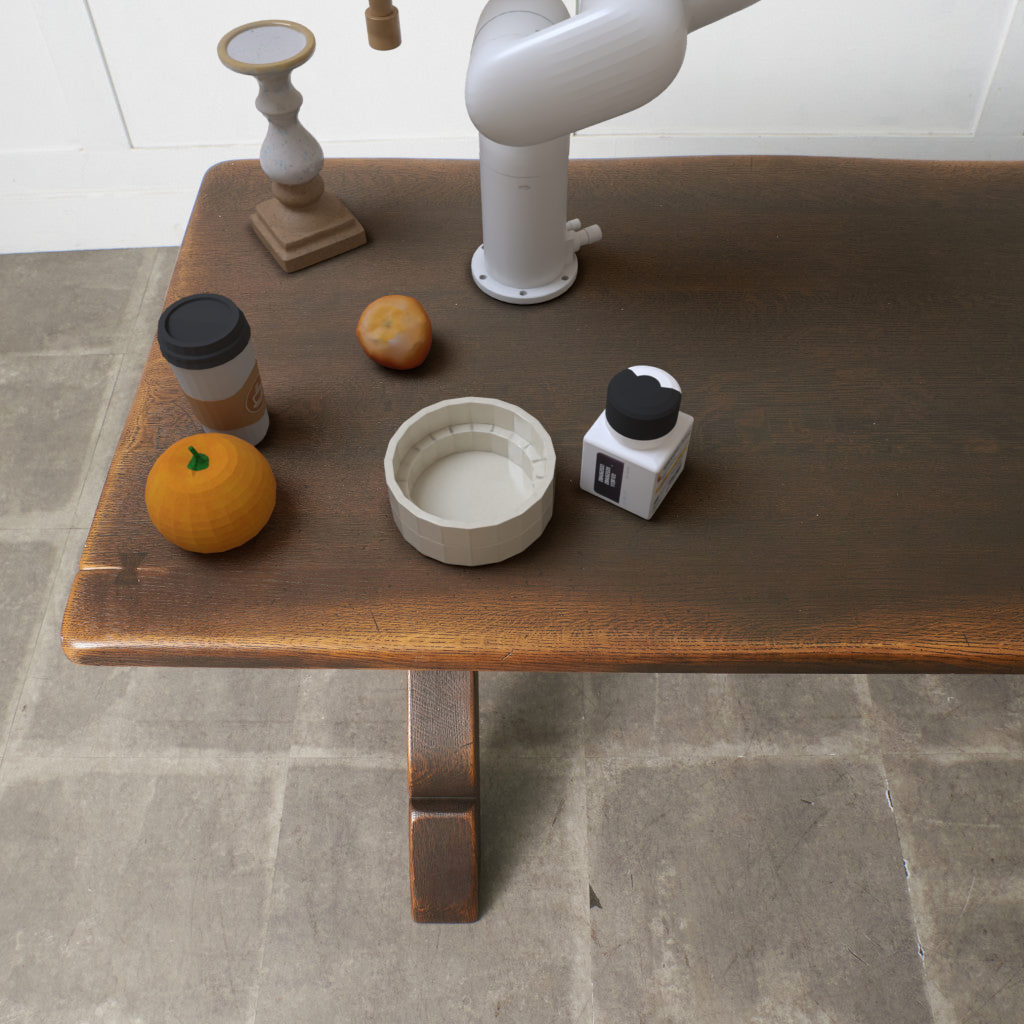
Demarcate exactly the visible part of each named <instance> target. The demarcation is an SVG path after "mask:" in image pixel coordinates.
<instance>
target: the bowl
mask: <svg viewBox="0 0 1024 1024" xmlns="http://www.w3.org/2000/svg"><path fill="white" fill-rule="evenodd" d="M383 466H384V475H385V483H386V488H387V493H388V498H389V503H390V508H391V514H392V518H393V521H394V524H395V525H396V527H397V528H398V530H399V533H400V534H401V535H402V538H403V539H404V541H406V542H408V543H409V544H410V545H411V546H412V547H413V548H415V550H417V551H418V552H420V553H421V554H422V555H423V556H427V557H429V558H432V559H434V560H437V561H439V562H442V563H444V564H447V565H455V566H457V565H458V566H466V567H476V566H483V565H489V564H494V563H500V562H503V561H506V560H507V559H509V558H512V557H513V556H516V555H518V554H520V553H523V552H524V551H525V550H526V549H527V548H528V547H530V546H531V545H532V544H533V543H534V542H535V541H536V540H538V539H539V538H540V537H541V536H542V534H543V533H544V531H545V529H546V527H547V525H548V523H549V522H550V520H551V519H552V516H553V511H554V503H555V497H556V495H555V494H556V473H557V471H556V470H557V455H556V451H555V447H554V444H553V440H552V437H551V436H550V434H549V433H548V431H547V430H546V429H545V427H544V426H543V425H542V424H541V422H540V421H539V420H538V419H537V418H536V417H534V416H533V415H532V414H530V413H528V412H527V411H526V410H524V409H523V408H522V407H520V406H518V405H515V404H512V403H510V402H506V401H503V400H501V399H498V398H492V397H481V396H480V397H479V396H465V397H456V398H449V399H444V400H441V401H439V402H435V403H433V404H431V405H428V406H426V407H423V408H421V409H420V410H419V411H418V412H416V413H414V414H413V415H411V416H410V417H409V418H408V419H406V420H405V421H403V423H401V425H400V426H399V427H398V429H397V430H396V432H395V433H394V435H392V437H391V438H390V440H389V443H388V445H387V449H386V452H385V456H384V459H383Z"/></svg>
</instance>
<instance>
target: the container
mask: <svg viewBox="0 0 1024 1024" xmlns="http://www.w3.org/2000/svg"><path fill="white" fill-rule="evenodd" d="M682 396H683V393H682V389H681V386H680V384H679V382H678V381H677V379H675V378H674V377H673V376H672V375H671V374H670V373H668V372H667V371H665V370H664V369H661V368H659V367H655V366H651V365H633V366H631V367H627V368H625V369H622V370H621V371H619V372H617V373H616V374H615V375H613V377H611V379H610V381H609V383H608V385H607V389H606V400H605V408H604V410H603V411H602V412H601V414H600V415H599V416H598V417H597V419H596V420H595V421H594V423H592V425H591V427H590V428H589V429H588V430H587V432H586V433H585V434H584V436H583V440H582V453H581V467H580V477H579V478H580V479H579V487H580V489H581V490H583V491H585V492H587V493H588V494H592V495H593V496H596V497H598V498H600V499H602V500H604V501H606V502H608V503H610V504H612V505H615V506H617V507H619V508H620V509H621V508H622V509H623V510H626V512H627V511H628V512H629V513H631V514H634V515H636V516H637V517H640V518H642V519H644V520H650V519H652V517H653V515H654V514H655V513H656V511H657V509H658V508H659V506H660V505H661V503H662V502H663V501H664V499H665V498H666V496H667V494H668V493H669V491H670V490H671V488H673V485H674V484H675V482H676V481H677V480H678V478H679V476H680V475H681V473H682V472H683V470H684V468H685V463H686V460H687V459H686V458H687V455H688V450H689V449H688V448H689V444H690V441H691V435H692V430H693V426H694V423H695V422H694V421H695V419H694V417H693V416H692V415H689V414H688V413H685V412H683V411H681V410H680V409H681V403H682V398H683V397H682Z"/></svg>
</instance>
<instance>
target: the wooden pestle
mask: <svg viewBox="0 0 1024 1024" xmlns="http://www.w3.org/2000/svg"><path fill="white" fill-rule="evenodd" d="M364 17H365V26H366V33H367V42H368V45H369V47H370V48H371V49H373V50H376V51H378V52H379V51H380V52H387V51H392V50H393V51H394V50H395V49H397V48H399V47H400V46H401V44H402V41H403V40H402V30H401V20H400V12H399V8H398V7H397V6H395V4H393V0H368V7H367V8H366V9H365V11H364Z"/></svg>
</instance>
